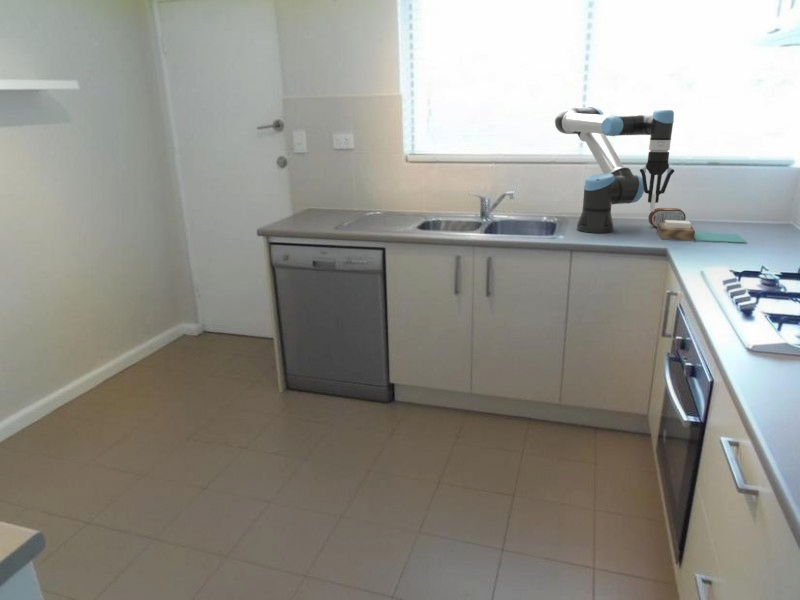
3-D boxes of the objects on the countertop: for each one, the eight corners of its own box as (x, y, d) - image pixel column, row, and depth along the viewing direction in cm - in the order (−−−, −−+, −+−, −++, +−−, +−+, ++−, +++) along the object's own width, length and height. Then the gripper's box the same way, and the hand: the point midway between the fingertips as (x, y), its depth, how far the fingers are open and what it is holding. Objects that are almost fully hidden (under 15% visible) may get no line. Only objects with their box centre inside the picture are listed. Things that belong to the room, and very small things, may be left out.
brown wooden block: (660, 239, 230) (662, 229, 229) (656, 232, 243) (657, 222, 241) (693, 240, 227) (695, 230, 225) (687, 233, 239) (689, 224, 238)
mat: (695, 241, 226) (695, 239, 225) (688, 233, 240) (688, 231, 240) (746, 243, 220) (747, 242, 220) (736, 235, 235) (737, 233, 235)
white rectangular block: (666, 227, 232) (666, 222, 231) (664, 224, 237) (664, 219, 237) (690, 228, 229) (691, 223, 229) (688, 225, 235) (688, 220, 234)
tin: (682, 226, 253) (685, 207, 250) (685, 228, 250) (687, 209, 247) (647, 226, 254) (649, 207, 252) (649, 228, 251) (651, 208, 249)
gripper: (642, 151, 225) (635, 211, 232) (678, 151, 221) (670, 212, 229) (640, 150, 232) (634, 208, 239) (675, 150, 228) (668, 209, 235)
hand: (651, 210), depth 234 cm, fingers closed
